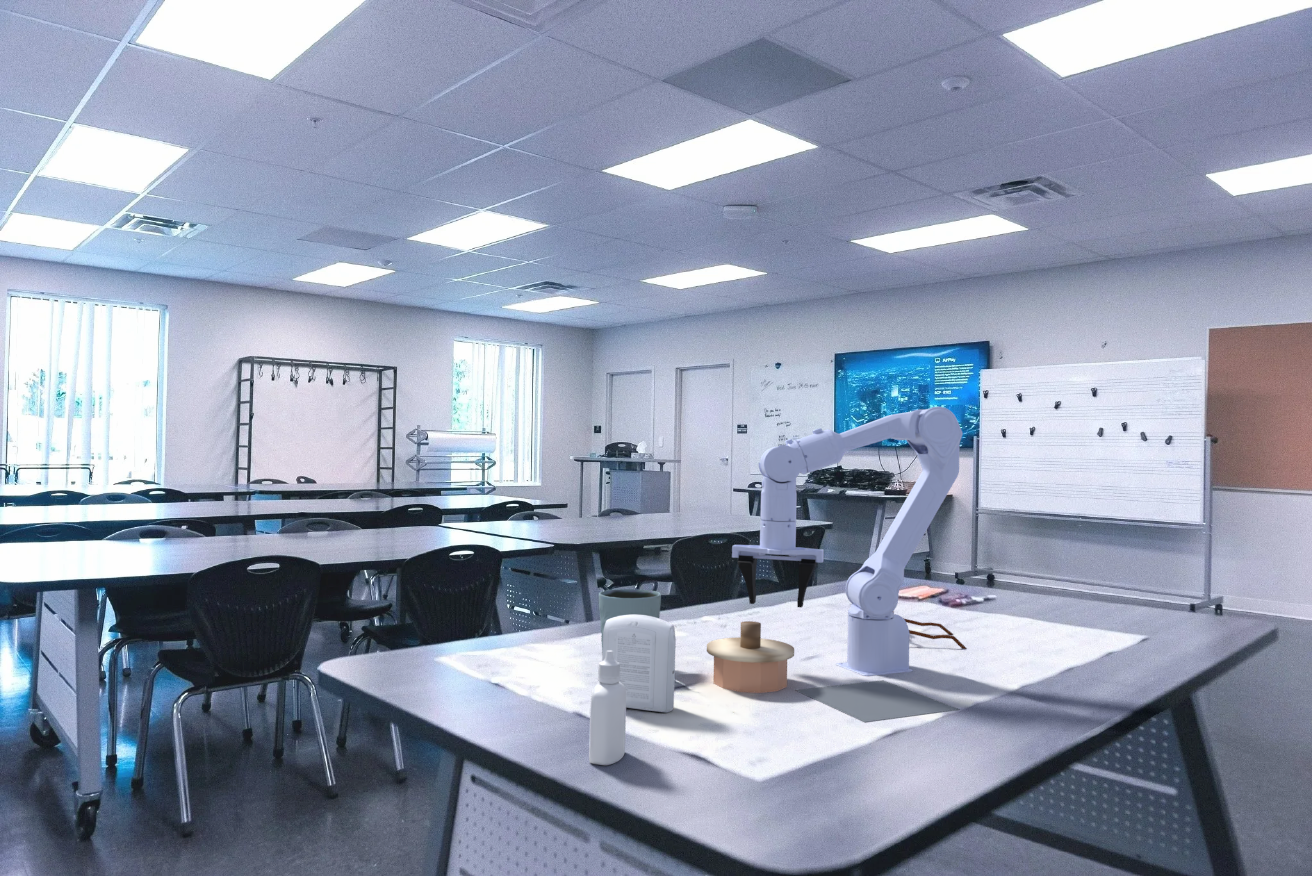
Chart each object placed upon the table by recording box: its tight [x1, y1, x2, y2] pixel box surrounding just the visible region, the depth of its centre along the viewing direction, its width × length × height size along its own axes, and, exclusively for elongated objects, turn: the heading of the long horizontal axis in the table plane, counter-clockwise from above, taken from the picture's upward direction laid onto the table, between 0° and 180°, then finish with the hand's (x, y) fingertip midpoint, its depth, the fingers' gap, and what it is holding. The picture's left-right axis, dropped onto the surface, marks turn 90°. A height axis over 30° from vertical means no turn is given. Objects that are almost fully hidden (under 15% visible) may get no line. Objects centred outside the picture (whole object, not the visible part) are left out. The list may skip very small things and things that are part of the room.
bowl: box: [712, 656, 788, 694], centre depth 130 cm, size 11×11×5 cm
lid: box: [706, 620, 795, 663], centre depth 130 cm, size 13×13×4 cm
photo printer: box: [601, 615, 677, 713], centre depth 118 cm, size 10×4×12 cm, turn 72°
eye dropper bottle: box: [588, 650, 627, 766], centre depth 98 cm, size 4×6×12 cm
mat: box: [794, 679, 961, 723], centre depth 122 cm, size 16×16×1 cm
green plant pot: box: [598, 588, 662, 657], centre depth 139 cm, size 10×10×12 cm
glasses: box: [893, 610, 968, 650], centre depth 165 cm, size 13×13×5 cm
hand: (776, 604), depth 140 cm, fingers open, 7 cm apart
